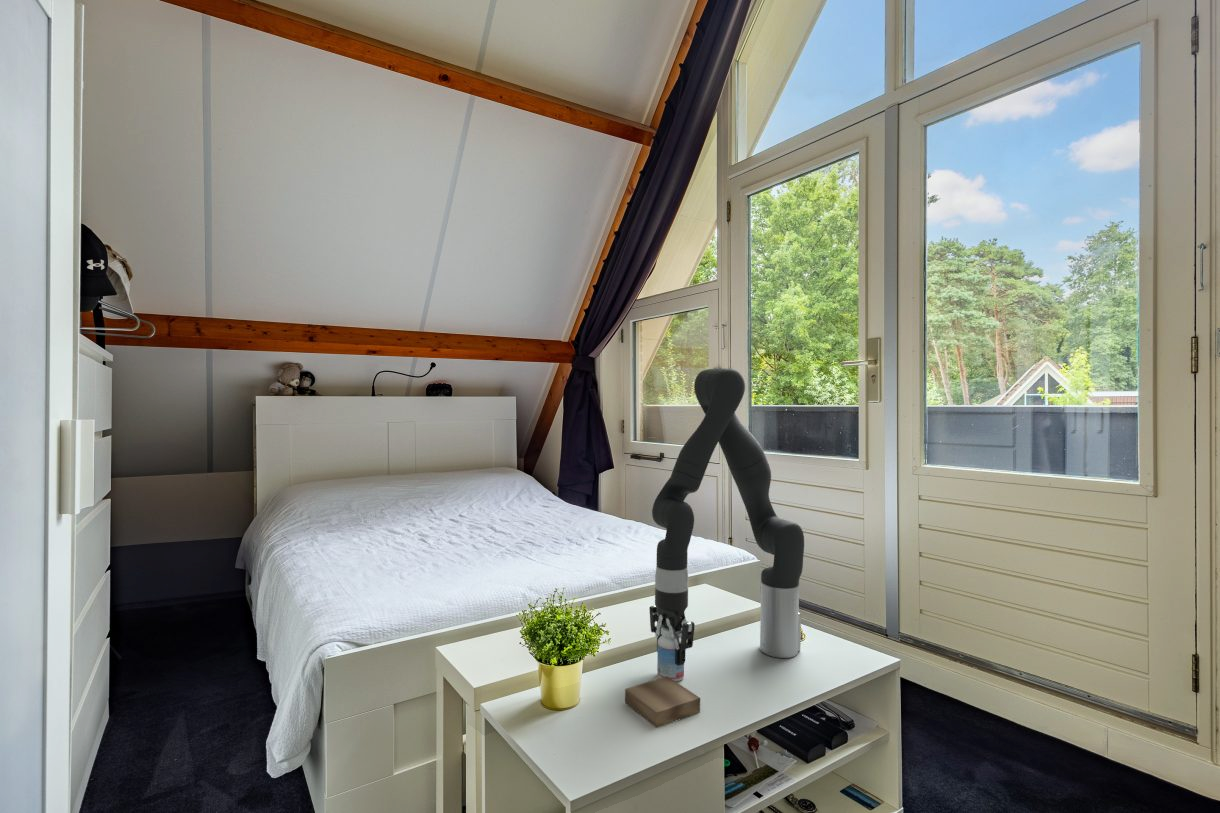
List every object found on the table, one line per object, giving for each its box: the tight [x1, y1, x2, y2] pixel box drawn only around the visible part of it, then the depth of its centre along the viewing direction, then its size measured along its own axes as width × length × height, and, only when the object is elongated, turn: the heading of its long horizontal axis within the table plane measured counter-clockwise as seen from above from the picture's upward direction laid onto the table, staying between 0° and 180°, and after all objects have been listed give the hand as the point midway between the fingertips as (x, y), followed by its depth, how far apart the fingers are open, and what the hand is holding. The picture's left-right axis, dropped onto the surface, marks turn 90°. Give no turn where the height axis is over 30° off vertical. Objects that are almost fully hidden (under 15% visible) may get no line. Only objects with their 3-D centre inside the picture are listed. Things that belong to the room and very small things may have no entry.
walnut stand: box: [624, 676, 701, 728], centre depth 127 cm, size 11×11×3 cm
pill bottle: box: [656, 626, 685, 683], centre depth 140 cm, size 6×6×11 cm
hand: (670, 658), depth 140 cm, fingers closed on pill bottle, 6 cm apart
